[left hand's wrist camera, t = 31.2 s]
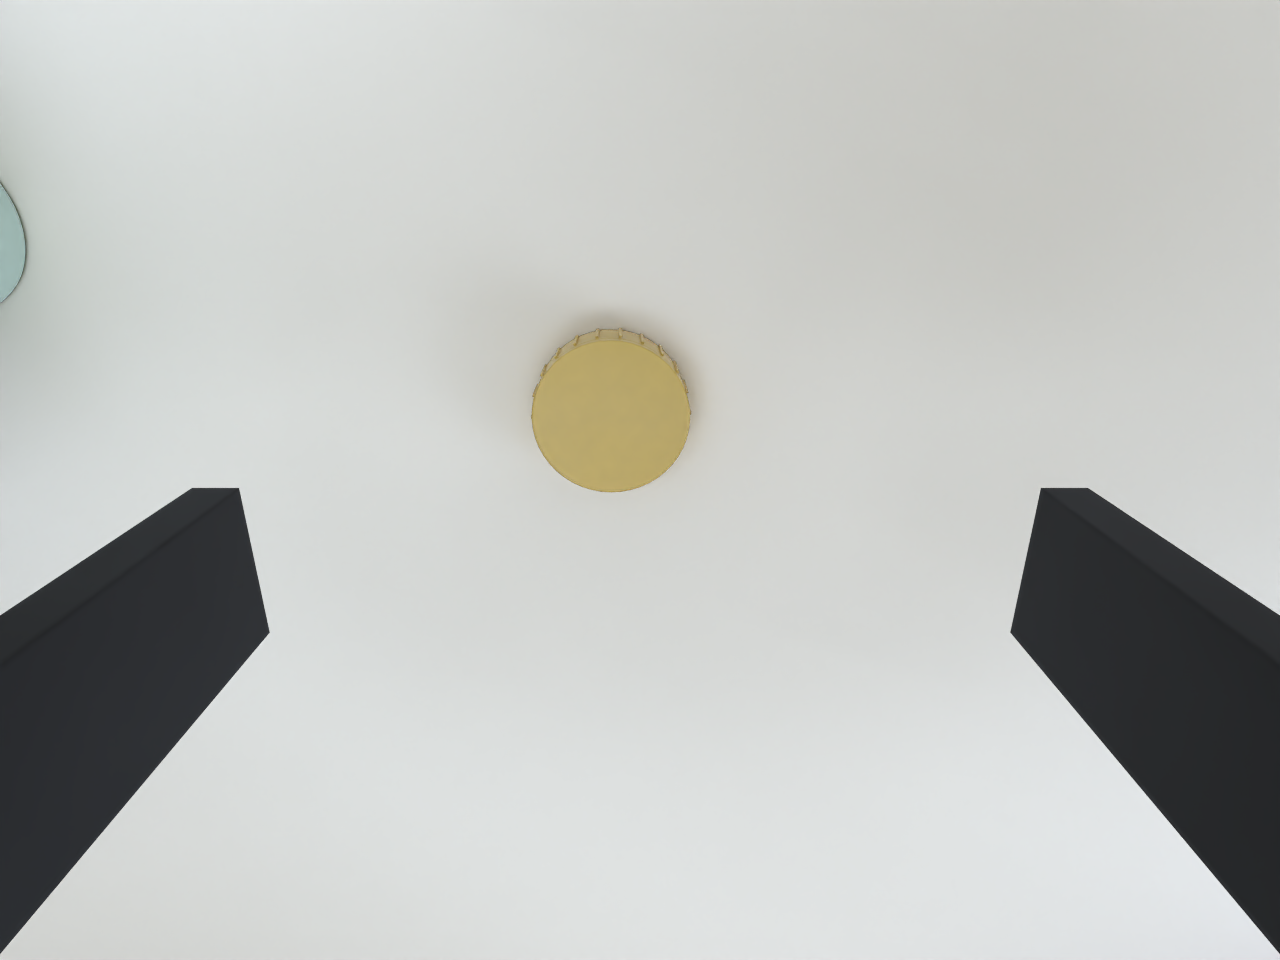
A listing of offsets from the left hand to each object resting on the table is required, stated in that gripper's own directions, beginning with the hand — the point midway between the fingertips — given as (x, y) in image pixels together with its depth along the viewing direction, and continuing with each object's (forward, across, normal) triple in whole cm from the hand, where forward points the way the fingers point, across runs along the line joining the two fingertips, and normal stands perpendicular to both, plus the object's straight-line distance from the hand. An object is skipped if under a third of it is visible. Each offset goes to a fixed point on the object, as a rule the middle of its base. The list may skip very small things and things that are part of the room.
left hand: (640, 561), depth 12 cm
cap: (+8, +1, 0) cm, 8 cm away
